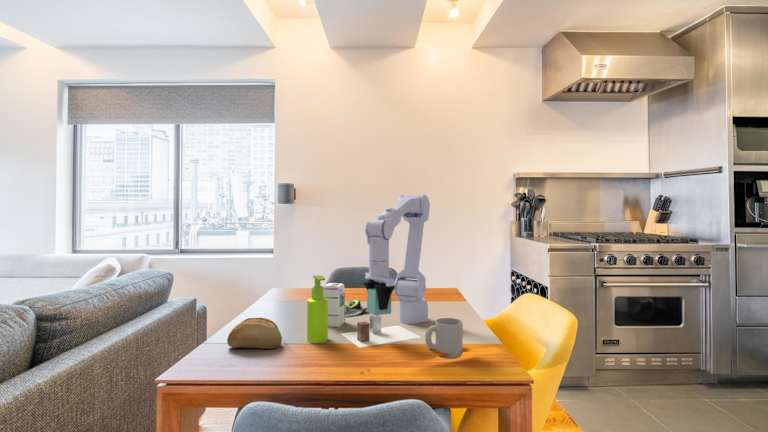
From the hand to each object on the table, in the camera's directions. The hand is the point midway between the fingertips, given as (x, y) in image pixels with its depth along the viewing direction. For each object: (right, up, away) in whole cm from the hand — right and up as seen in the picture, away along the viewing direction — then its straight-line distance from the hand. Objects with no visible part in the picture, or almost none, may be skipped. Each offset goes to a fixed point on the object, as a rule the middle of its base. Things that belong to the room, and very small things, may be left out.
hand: (378, 307), depth 118 cm
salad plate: (-14, -11, +36) cm, 40 cm away
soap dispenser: (-17, -11, -2) cm, 20 cm away
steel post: (-1, -9, +6) cm, 11 cm away
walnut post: (-4, -9, -2) cm, 10 cm away
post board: (+1, -11, +3) cm, 11 cm away
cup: (+18, -11, -9) cm, 22 cm away
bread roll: (-35, -11, -3) cm, 37 cm away
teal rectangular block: (0, -2, 0) cm, 2 cm away
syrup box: (-15, -11, +15) cm, 24 cm away
